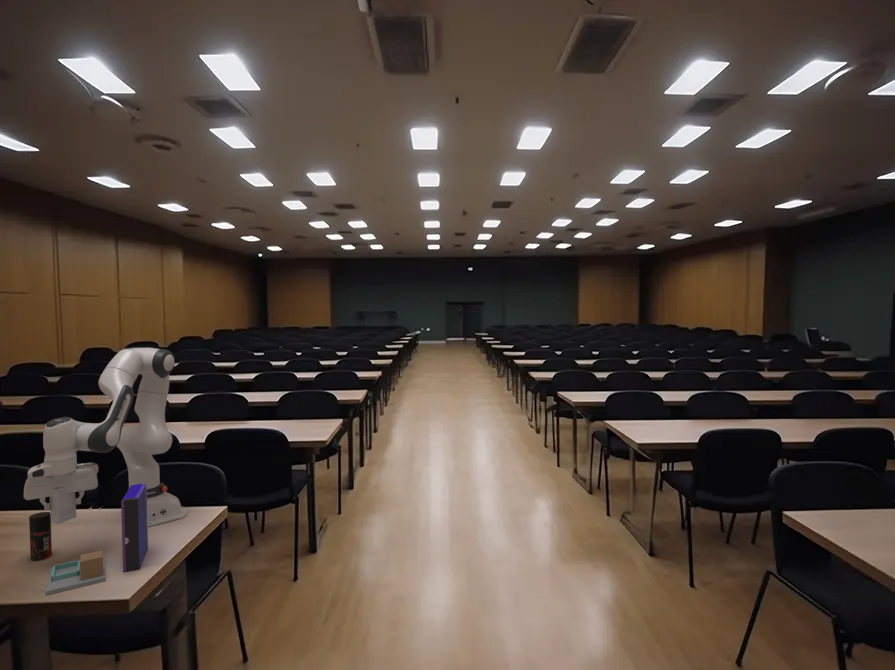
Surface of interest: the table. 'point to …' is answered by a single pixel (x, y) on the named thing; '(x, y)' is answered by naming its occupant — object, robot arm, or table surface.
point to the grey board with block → (77, 573)
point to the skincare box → (62, 506)
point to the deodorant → (40, 536)
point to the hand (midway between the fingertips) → (63, 506)
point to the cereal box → (134, 527)
